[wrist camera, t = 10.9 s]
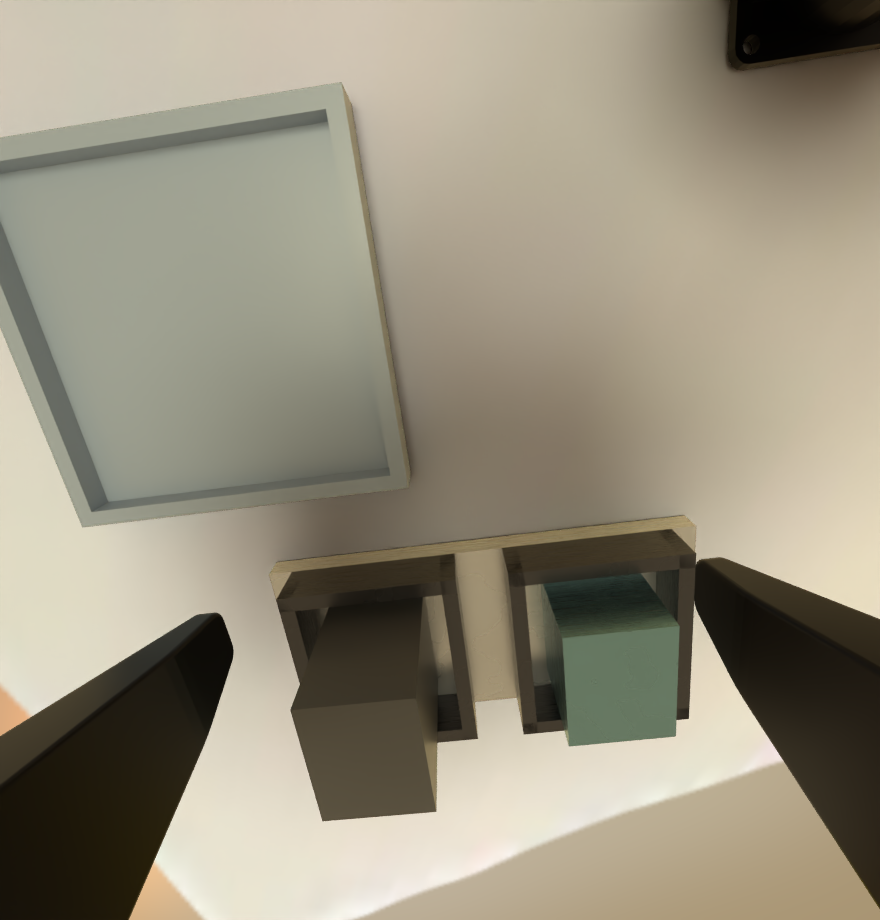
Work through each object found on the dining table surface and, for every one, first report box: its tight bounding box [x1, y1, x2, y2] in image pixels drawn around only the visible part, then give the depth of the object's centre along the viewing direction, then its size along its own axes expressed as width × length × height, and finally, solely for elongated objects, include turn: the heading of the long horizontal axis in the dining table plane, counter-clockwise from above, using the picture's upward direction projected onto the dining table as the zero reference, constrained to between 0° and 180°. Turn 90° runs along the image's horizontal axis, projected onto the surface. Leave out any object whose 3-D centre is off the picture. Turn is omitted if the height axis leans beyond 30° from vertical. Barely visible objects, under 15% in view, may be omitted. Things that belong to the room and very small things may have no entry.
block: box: [291, 597, 438, 821], centre depth 18 cm, size 4×5×6 cm
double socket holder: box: [269, 516, 696, 746], centre depth 20 cm, size 18×8×5 cm, turn 97°
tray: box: [0, 82, 411, 527], centre depth 17 cm, size 13×13×2 cm
